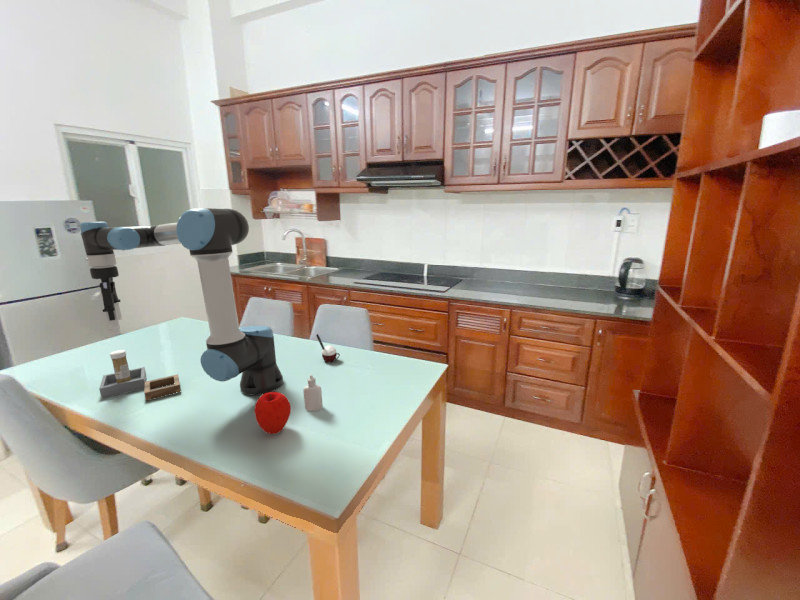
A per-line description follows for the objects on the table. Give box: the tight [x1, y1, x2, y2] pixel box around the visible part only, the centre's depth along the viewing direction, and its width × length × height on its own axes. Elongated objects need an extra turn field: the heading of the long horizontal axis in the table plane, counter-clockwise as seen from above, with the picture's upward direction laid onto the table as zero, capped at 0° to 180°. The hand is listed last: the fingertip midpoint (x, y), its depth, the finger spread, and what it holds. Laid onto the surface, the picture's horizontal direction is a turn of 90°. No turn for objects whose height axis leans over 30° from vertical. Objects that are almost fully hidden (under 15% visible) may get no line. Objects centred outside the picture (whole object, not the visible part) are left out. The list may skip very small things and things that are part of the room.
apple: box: [254, 391, 292, 435], centre depth 104 cm, size 10×10×12 cm
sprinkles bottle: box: [109, 349, 131, 384], centre depth 133 cm, size 5×5×14 cm
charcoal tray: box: [99, 366, 147, 399], centre depth 135 cm, size 13×13×4 cm
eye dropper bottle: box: [303, 374, 324, 412], centre depth 116 cm, size 4×6×12 cm
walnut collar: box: [143, 374, 182, 401], centre depth 131 cm, size 11×11×3 cm
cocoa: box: [316, 333, 340, 363], centre depth 154 cm, size 10×6×12 cm, turn 64°
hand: (116, 324), depth 130 cm, fingers open, 13 cm apart
